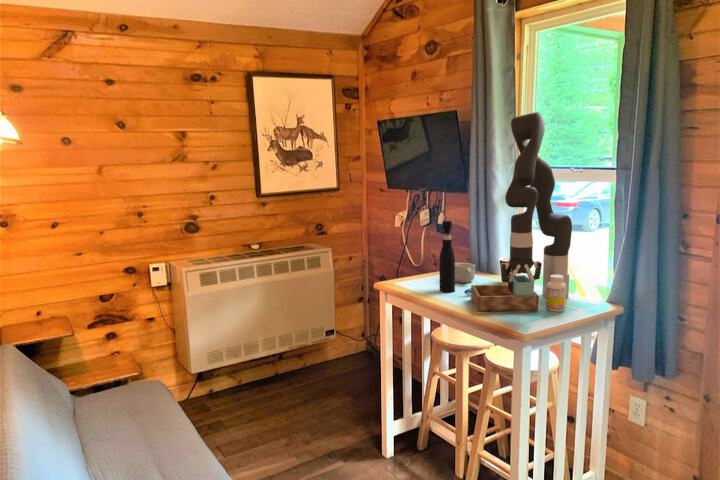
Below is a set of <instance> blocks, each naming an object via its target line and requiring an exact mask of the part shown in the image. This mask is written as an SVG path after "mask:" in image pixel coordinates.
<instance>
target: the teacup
mask: <svg viewBox="0 0 720 480" xmlns="http://www.w3.org/2000/svg"><path fill="white" fill-rule="evenodd" d="M476 266H477V265H476V264H474V263H468V262H455V283H462V284H463V283H465V284H467V283H468V284H469V283H470V282H471V281H473V280H474V279H475V273H476Z"/></svg>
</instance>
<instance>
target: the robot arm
mask: <svg viewBox="0 0 720 480" xmlns="http://www.w3.org/2000/svg"><path fill="white" fill-rule="evenodd" d="M545 125H546V123H545V120H544V117H543V115H542V114H541V112H538V111H536V112H530V113H526V114H522V115H518V116H515V117H512V119H511V122H510V128H511V132H512V136H513V138H514V141H515V144H516V146H517V148H518V151H519V155H518V157H517V158H516V160H515V162H514V163H515V164H514V170H513V175H512V180H511V181H510V182H511V183H510V184H509V186H508V188H507V190H506V193H505V195H504V196H505V199H504V200H505V204H506V205H507V206H508V207H510V208H526V210H525V211H524V212H522V213H517V214H513V215H512V216H511V217H510V234H509V235H510V236H509V257H510V260H509V262H508V263H501V268H500V272H501V271H502V278H503V279H504V280H505V281H508V289H509V291H510V292H513V282H512V281H513V279H514V277H515V276H517V275H518V274H519V275H520V274H525V275H526V274H527V275H526V276H527V277H528V278H529V279H530V280H531V281H533V282H534V283H535V281H536V280H540V277H541V273H542V296H543V297H545V298H547V284H548V282H550V281H551V280H550V275H562V276H563V282H564V283H565V284H566V298H569V293H570V292H569V290H570V274H569V271H568V270H569V267H568V266H569V251H570V248H571V244H572V242H571V241H572V230H573V223H572V219H571V217H570V216H568V215H566V214H559V213H554V211H553V209H552V202H551V200H552V199H551V198H552V196H553V193H554V190H555V187H556V181H555V177H554V173H553V169H552V167H551V165H550V164H549V163H548V162H547V160H545V159H544V158H543V157H541V155H539V152H540V149H541V145H542V142H543V138H544V134H545V128H546V126H545ZM535 209H536V213H537V220H538V225H539V229H540V231H541V233H542V234H543V235H545V236H547V237H551V238H553V243H551V244H548V245H545V246H544V247H543V261H542V262H541V261H540V260H539V261H538V260H537V261H534V260H533V251H534V250H533V246H534V241H533V239H534V238H533V218H534V217H533V216H534V212H535ZM542 263H543V266H542ZM508 266H510V267H511V268H512V269H511V271H510V274H509V276H508V277H507V272H506V269H507V268H508ZM532 267H534V268H535V269H534V270H535V271H534V274H533V273H532V270H531V269H532ZM542 267H543V268H542ZM541 270H543V271H541Z"/></svg>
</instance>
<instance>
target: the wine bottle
mask: <svg viewBox="0 0 720 480" xmlns="http://www.w3.org/2000/svg"><path fill="white" fill-rule="evenodd" d="M441 225H442V230H443V239H442V247H441V250H440V254H439V291H440V292H441V293H445V294H451V293H454V292H456V281H455V263H456V257H455V252H454V249H453V245H452V242H453V240H452V235H451V230H452V229H453V228H452V227H453V221H452V220H443V221H442V224H441Z"/></svg>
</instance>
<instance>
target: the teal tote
mask: <svg viewBox="0 0 720 480" xmlns="http://www.w3.org/2000/svg"><path fill="white" fill-rule="evenodd" d="M512 282H513V292H512V293H513V295H514V296H515V297H533V294H534V292H535V290H534V289H535V281H534V282H533V281H531V280H530V279H529V277H528V275H526V274H524V275H523V274H521V275H520V274H519V275H516V276H515V277H514V279H513V281H512Z"/></svg>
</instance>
